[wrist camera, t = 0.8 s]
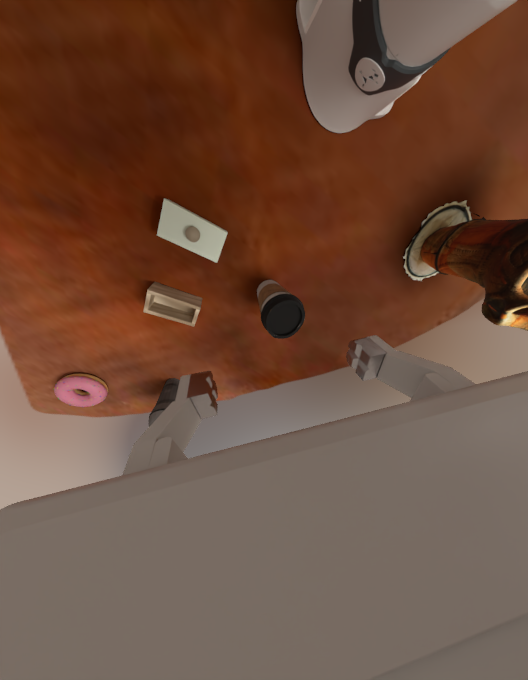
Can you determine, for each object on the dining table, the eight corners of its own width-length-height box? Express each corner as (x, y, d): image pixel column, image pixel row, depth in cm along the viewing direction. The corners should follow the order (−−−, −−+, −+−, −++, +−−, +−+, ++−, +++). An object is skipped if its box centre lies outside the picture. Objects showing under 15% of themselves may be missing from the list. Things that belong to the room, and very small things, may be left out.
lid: (168, 199, 33) (162, 198, 29) (227, 230, 37) (227, 233, 33) (161, 233, 35) (155, 236, 32) (217, 259, 40) (216, 264, 36)
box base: (154, 281, 39) (147, 289, 35) (202, 298, 43) (200, 307, 39) (150, 302, 42) (143, 311, 38) (196, 316, 46) (194, 326, 42)
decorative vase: (377, 280, 49) (519, 330, 26) (443, 173, 39) (767, 105, 16) (424, 300, 57) (568, 353, 34) (490, 215, 47) (758, 208, 24)
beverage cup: (180, 394, 60) (165, 462, 44) (156, 387, 56) (131, 458, 40) (191, 380, 57) (180, 446, 41) (166, 371, 54) (144, 441, 37)
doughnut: (71, 399, 53) (61, 412, 49) (52, 370, 47) (39, 383, 43) (116, 396, 55) (109, 408, 52) (103, 369, 49) (95, 381, 46)
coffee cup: (245, 298, 46) (254, 331, 34) (263, 267, 42) (280, 290, 30) (273, 312, 49) (290, 345, 37) (291, 284, 46) (317, 311, 34)
